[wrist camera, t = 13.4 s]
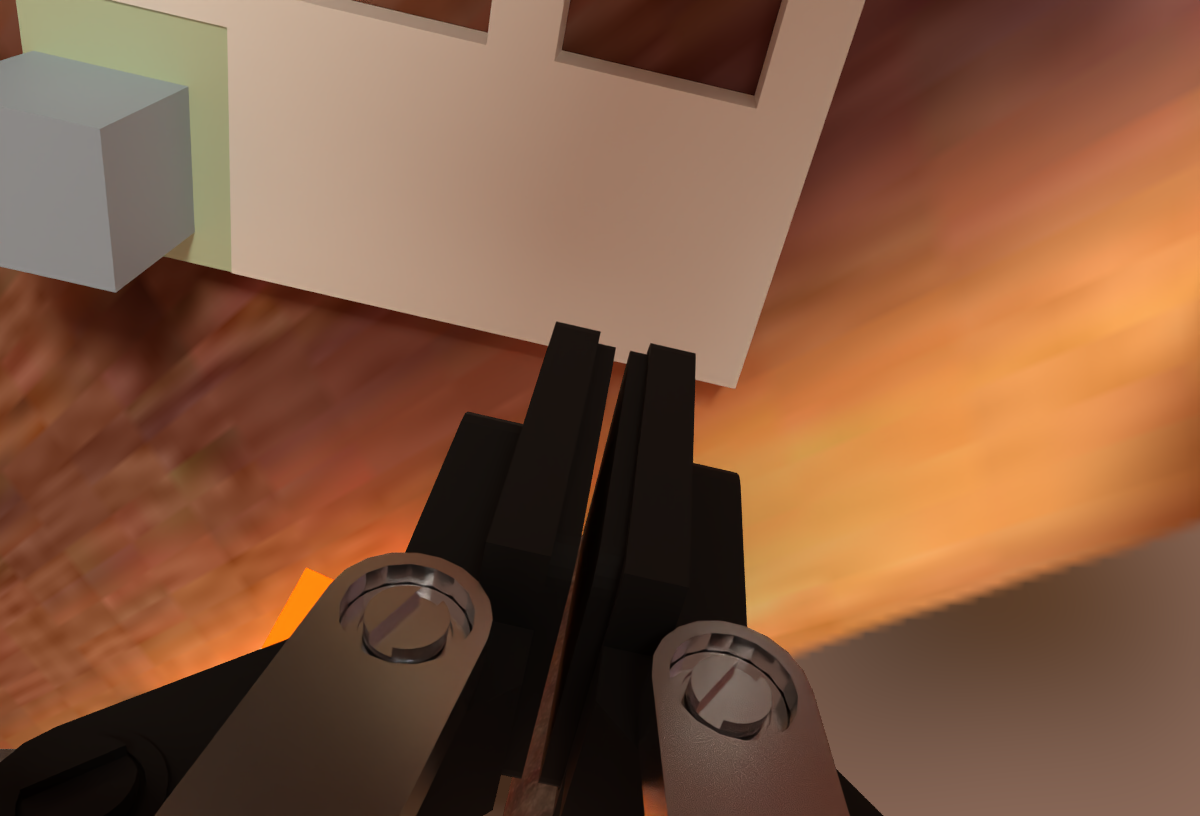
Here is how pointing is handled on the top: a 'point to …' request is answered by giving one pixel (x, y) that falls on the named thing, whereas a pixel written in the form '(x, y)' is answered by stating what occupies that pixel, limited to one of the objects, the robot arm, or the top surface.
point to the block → (91, 170)
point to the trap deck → (479, 161)
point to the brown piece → (539, 743)
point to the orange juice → (298, 605)
